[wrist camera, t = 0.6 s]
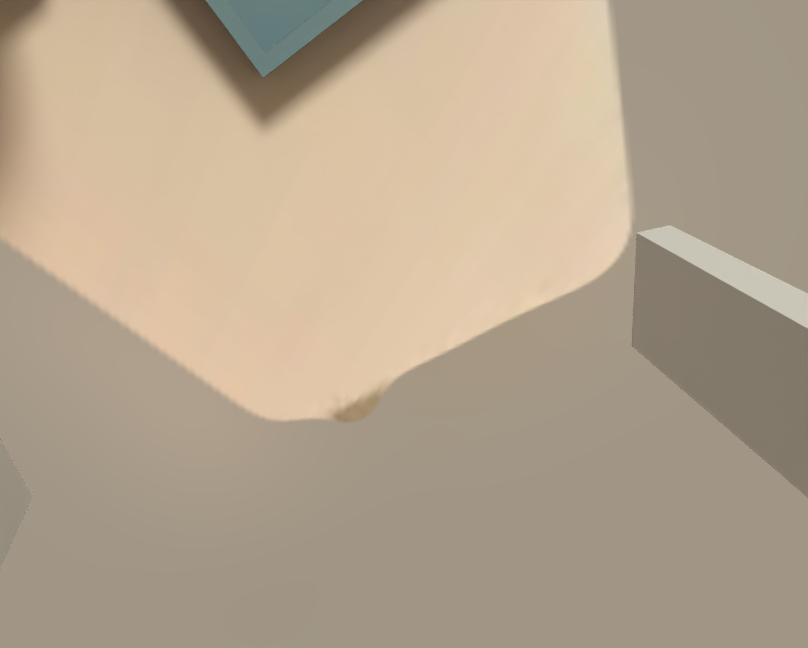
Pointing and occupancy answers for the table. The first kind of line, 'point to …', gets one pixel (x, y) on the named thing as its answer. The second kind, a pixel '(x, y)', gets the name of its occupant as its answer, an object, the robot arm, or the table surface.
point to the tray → (277, 25)
